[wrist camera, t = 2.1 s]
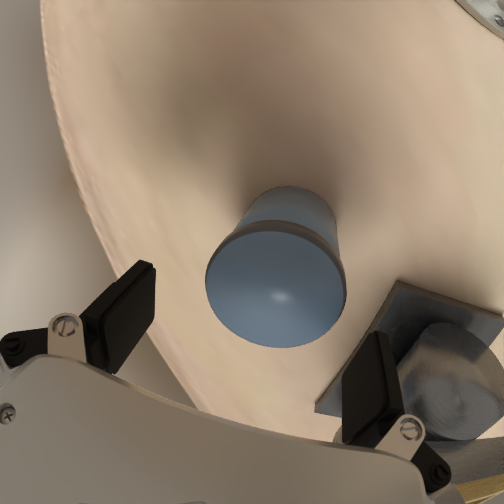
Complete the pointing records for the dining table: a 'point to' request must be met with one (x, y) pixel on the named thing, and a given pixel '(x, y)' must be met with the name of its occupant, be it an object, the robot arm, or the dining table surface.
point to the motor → (444, 382)
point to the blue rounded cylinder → (279, 271)
